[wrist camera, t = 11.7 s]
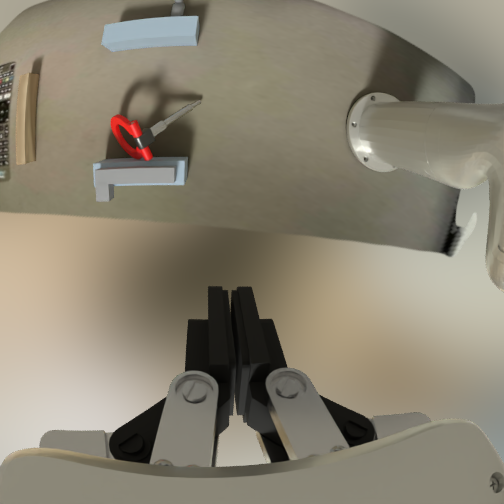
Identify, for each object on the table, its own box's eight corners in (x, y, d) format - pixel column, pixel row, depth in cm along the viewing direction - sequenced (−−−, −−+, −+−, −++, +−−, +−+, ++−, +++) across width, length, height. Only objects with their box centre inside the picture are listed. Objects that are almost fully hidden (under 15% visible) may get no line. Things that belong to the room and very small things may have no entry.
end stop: (39, 74, 25) (29, 72, 22) (35, 160, 31) (25, 163, 28) (30, 77, 24) (19, 76, 22) (27, 161, 30) (16, 165, 28)
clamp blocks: (203, 4, 25) (201, -14, 20) (186, 189, 37) (182, 200, 31) (120, 11, 23) (106, -4, 18) (106, 190, 35) (89, 201, 29)
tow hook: (102, 117, 28) (127, 120, 25) (162, 79, 32) (196, 79, 28) (122, 156, 33) (149, 167, 30) (175, 117, 37) (208, 123, 34)
